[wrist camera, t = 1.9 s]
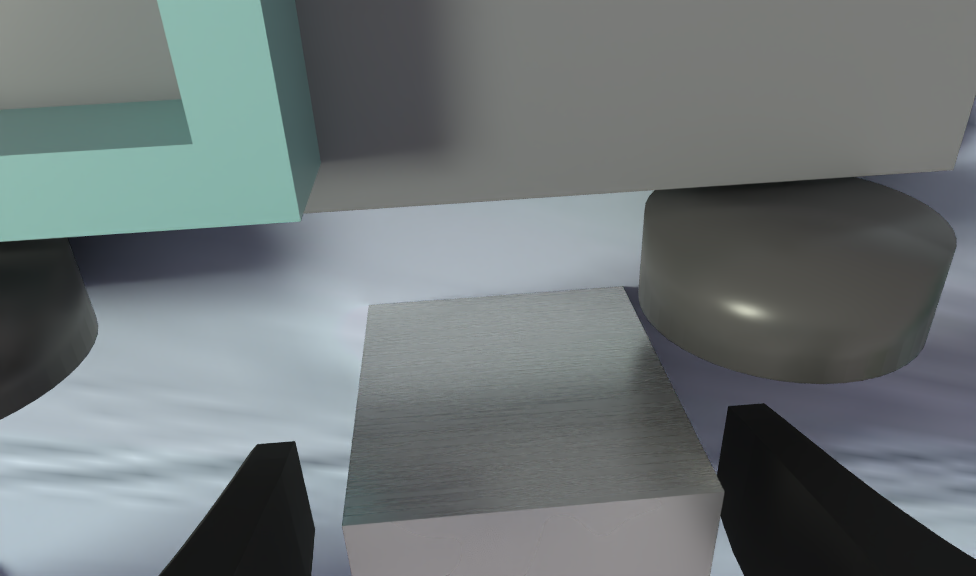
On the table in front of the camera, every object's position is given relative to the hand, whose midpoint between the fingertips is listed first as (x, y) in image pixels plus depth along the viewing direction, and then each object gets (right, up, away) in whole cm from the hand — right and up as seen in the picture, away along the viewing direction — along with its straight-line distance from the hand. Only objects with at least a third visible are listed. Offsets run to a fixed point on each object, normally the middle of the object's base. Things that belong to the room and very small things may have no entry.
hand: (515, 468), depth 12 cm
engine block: (0, +1, +2) cm, 2 cm away
